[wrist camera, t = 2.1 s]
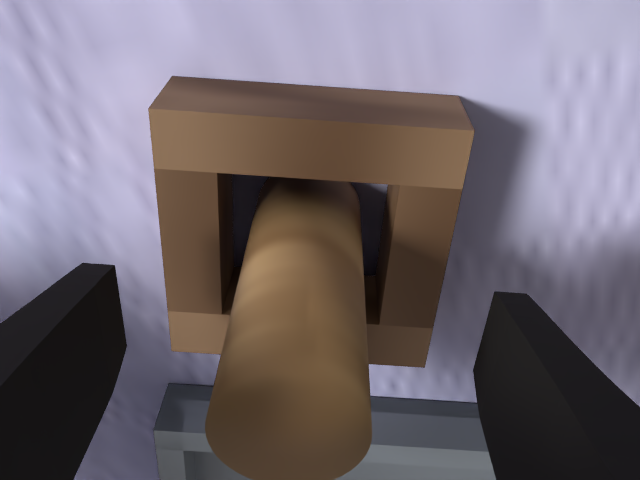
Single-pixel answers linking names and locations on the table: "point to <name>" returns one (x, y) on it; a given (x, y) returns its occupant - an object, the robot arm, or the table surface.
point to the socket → (307, 163)
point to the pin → (296, 340)
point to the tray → (376, 467)
